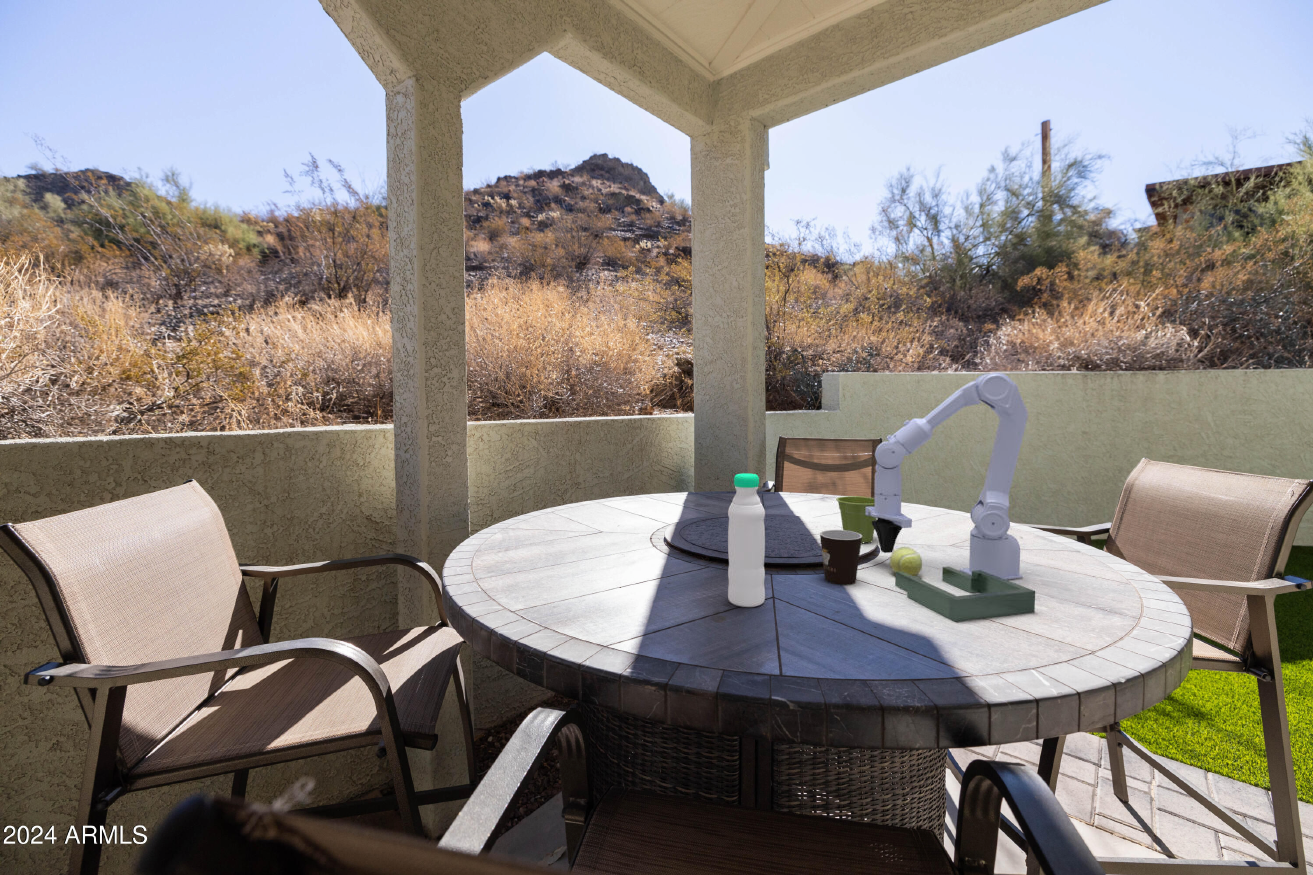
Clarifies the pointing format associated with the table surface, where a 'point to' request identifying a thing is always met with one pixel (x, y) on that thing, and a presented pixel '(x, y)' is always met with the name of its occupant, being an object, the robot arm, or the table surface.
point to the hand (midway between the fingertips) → (886, 551)
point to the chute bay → (992, 601)
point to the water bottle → (746, 544)
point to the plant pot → (857, 515)
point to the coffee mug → (840, 555)
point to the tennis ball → (906, 561)
